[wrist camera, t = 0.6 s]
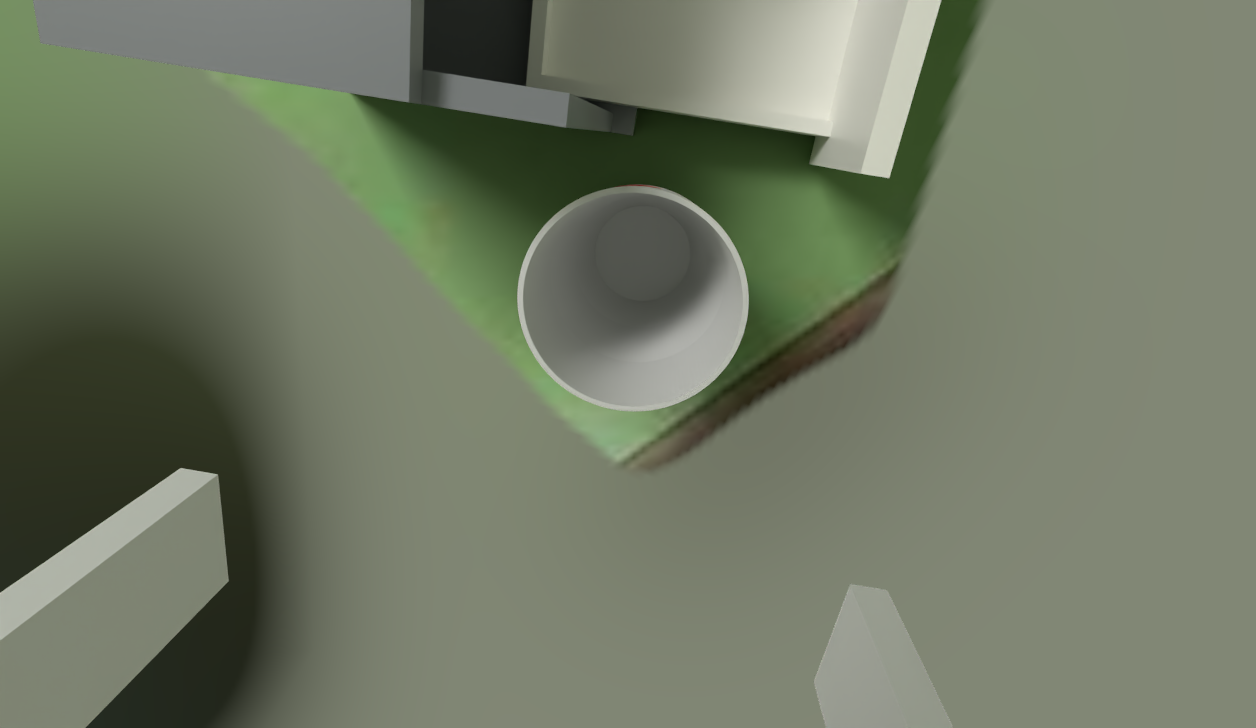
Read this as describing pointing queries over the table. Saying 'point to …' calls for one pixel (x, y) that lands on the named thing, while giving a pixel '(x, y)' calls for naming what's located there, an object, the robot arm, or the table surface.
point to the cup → (633, 298)
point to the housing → (342, 49)
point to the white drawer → (747, 65)
